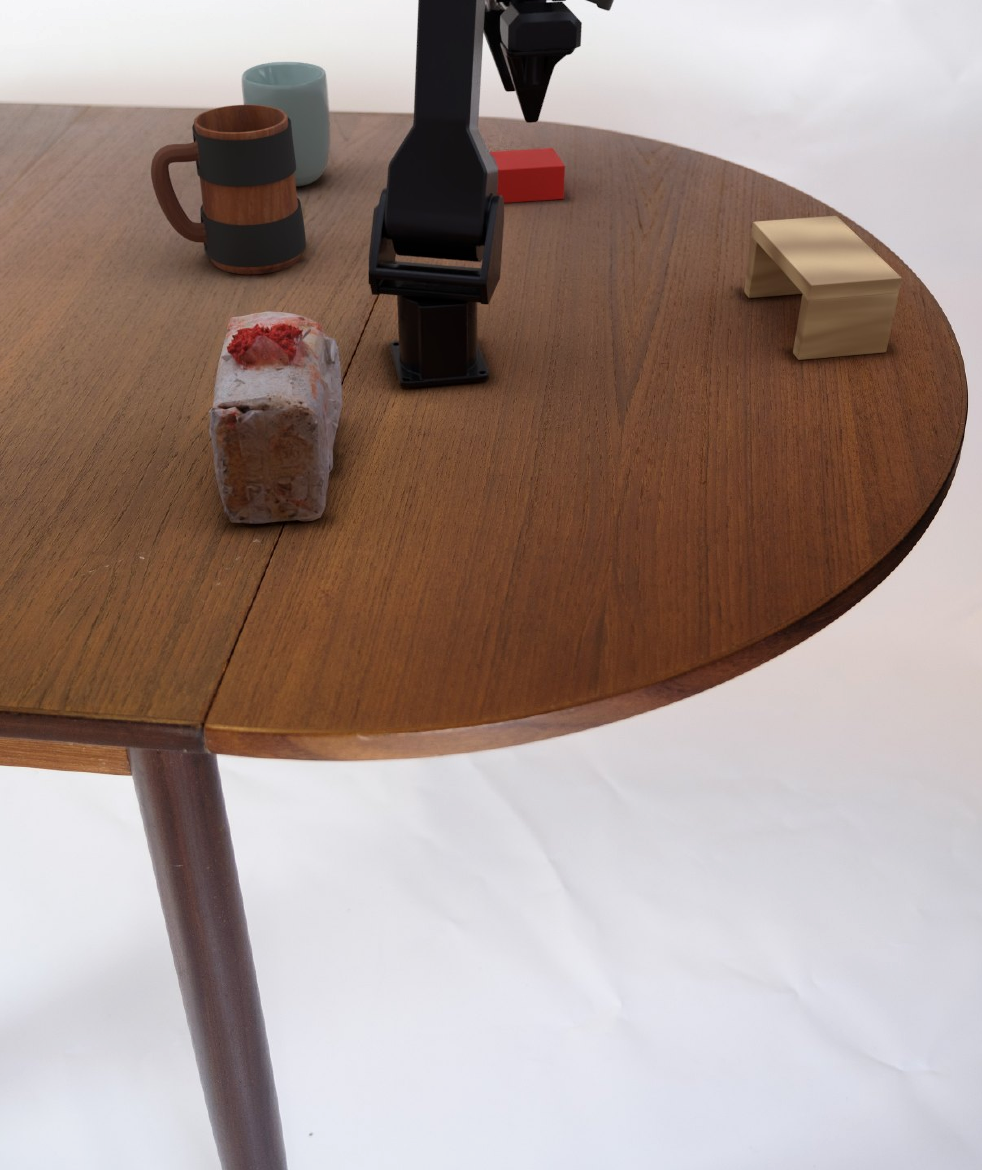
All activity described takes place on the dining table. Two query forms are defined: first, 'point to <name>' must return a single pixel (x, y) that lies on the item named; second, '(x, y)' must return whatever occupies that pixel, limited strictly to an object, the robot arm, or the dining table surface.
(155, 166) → the mug
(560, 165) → the block
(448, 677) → the dining table surface
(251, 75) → the cup
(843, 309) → the stand
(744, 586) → the dining table surface
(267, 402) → the food item
